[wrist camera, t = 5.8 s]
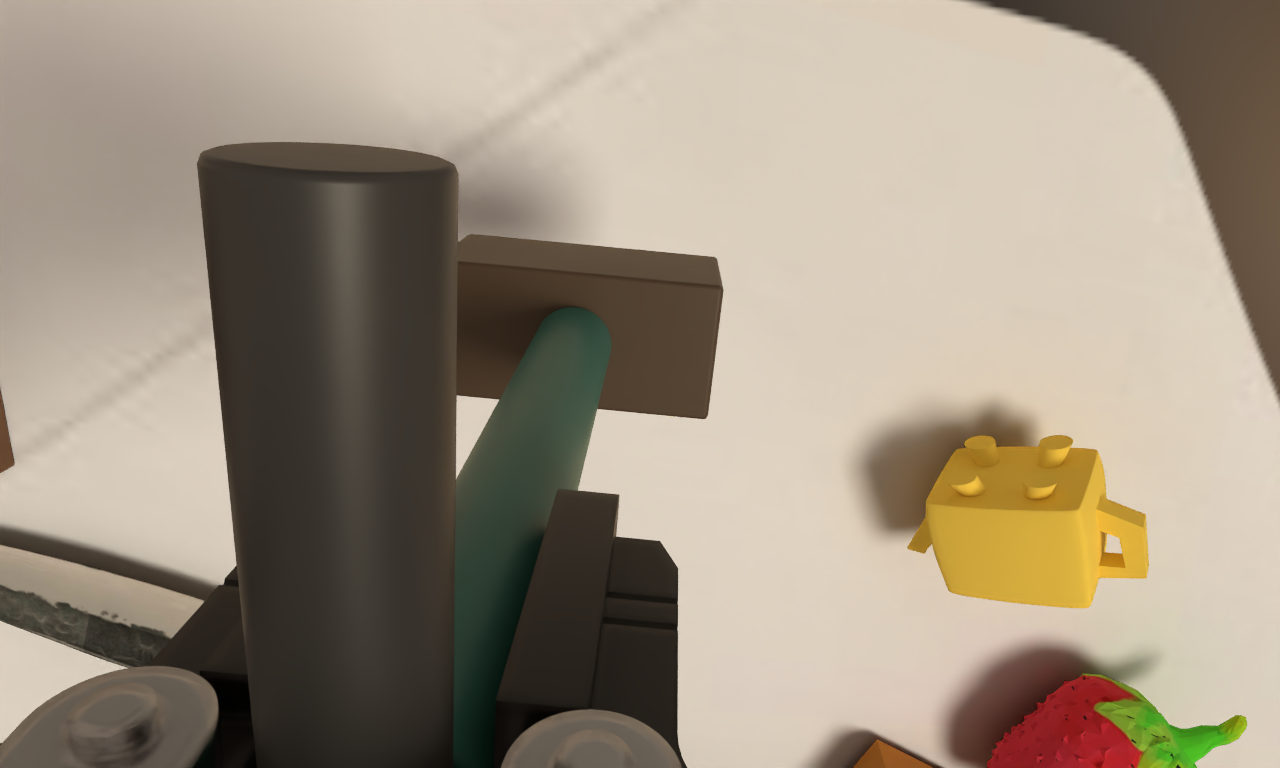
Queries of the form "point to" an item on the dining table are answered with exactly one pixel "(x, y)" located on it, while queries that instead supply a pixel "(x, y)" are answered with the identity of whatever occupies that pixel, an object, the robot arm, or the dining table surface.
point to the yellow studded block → (1029, 524)
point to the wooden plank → (887, 758)
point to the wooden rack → (4, 442)
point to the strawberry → (1105, 732)
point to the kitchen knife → (90, 607)
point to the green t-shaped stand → (410, 433)
